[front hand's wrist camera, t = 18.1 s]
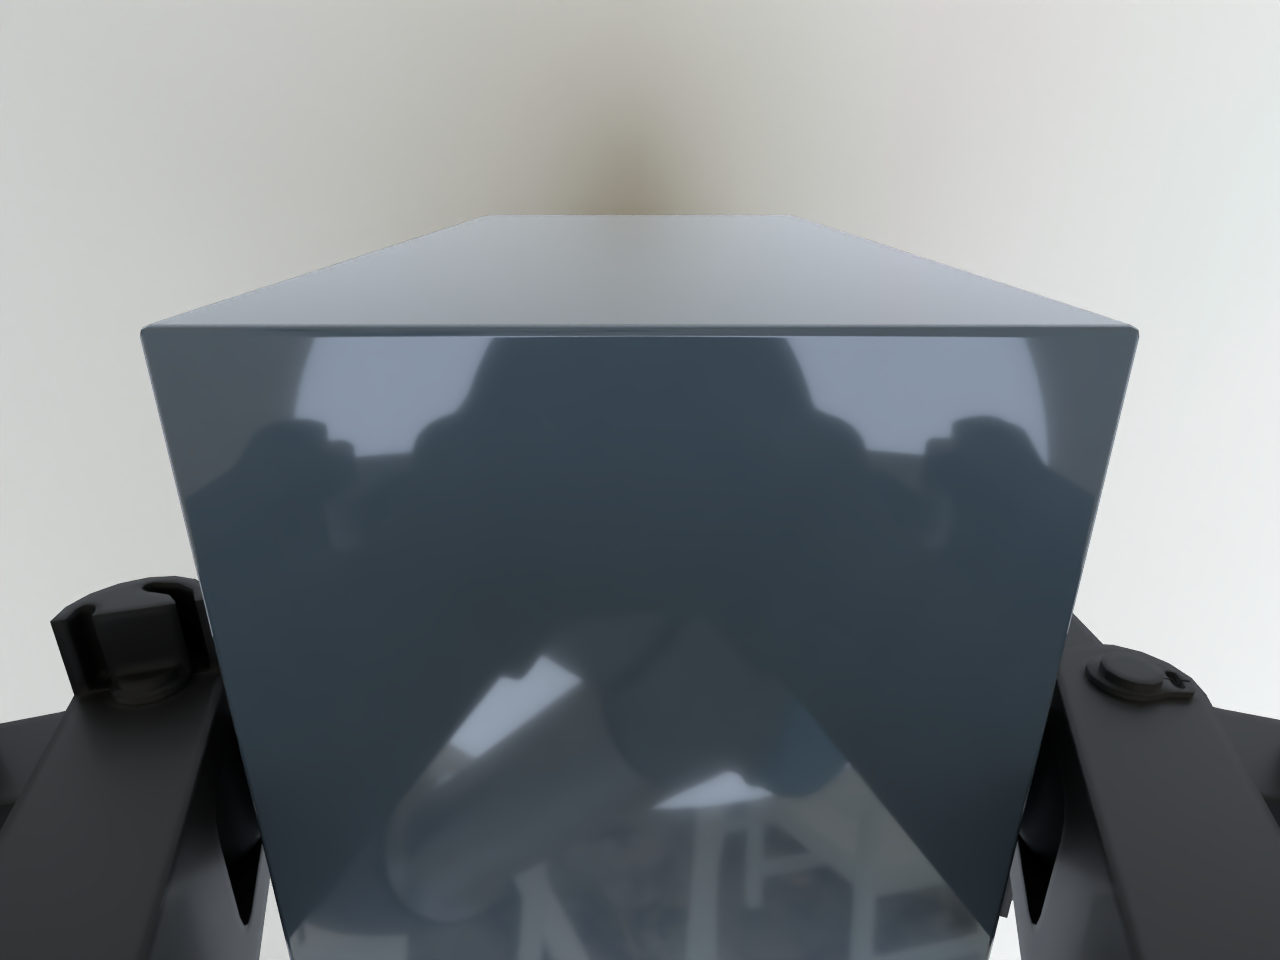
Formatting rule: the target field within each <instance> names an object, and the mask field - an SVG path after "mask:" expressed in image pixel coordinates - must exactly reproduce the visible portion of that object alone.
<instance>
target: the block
mask: <svg viewBox="0 0 1280 960" xmlns="http://www.w3.org/2000/svg"><path fill="white" fill-rule="evenodd" d="M140 338H141V342H142V346H143V350H144V355H145V359H146V363H147V367H148V371H149V375H150V379H151V384H152V388H153V392H154V396H155V400H156V404H157V409H158V413H159V417H160V421H161V425H162V429H163V433H164V438H165V442H166V446H167V450H168V454H169V458H170V462H171V467H172V471H173V475H174V479H175V483H176V487H177V492H178V496H179V500H180V504H181V508H182V512H183V516H184V521H185V525H186V529H187V533H188V537H189V541H190V545H191V550H192V554H193V558H194V562H195V566H196V570H197V575H198V579H199V583H200V587H201V591H202V595H203V599H204V604H205V608H206V612H207V616H208V620H209V624H210V628H211V633H212V637H213V641H214V645H215V649H216V653H217V658H218V662H219V666H220V670H221V674H222V678H223V682H224V687H225V691H226V695H227V699H228V703H229V707H230V711H231V716H232V720H233V724H234V728H235V732H236V736H237V741H238V745H239V749H240V753H241V757H242V761H243V765H244V770H245V774H246V778H247V782H248V786H249V790H250V794H251V799H252V803H253V807H254V811H255V815H256V819H257V824H258V828H259V832H260V836H261V840H262V844H263V848H264V853H265V857H266V861H267V865H268V869H269V873H270V877H271V882H272V886H273V890H274V894H275V898H276V902H277V907H278V911H279V915H280V919H281V923H282V927H283V931H284V936H285V940H286V944H287V948H288V952H289V956H290V960H989V957H990V953H991V949H992V945H993V941H994V936H995V932H996V928H997V924H998V920H999V916H1000V912H1001V907H1002V903H1003V899H1004V895H1005V891H1006V887H1007V883H1008V878H1009V874H1010V870H1011V866H1012V862H1013V858H1014V854H1015V849H1016V845H1017V841H1018V837H1019V833H1020V829H1021V824H1022V820H1023V816H1024V812H1025V808H1026V804H1027V800H1028V795H1029V791H1030V787H1031V783H1032V779H1033V775H1034V771H1035V766H1036V762H1037V758H1038V754H1039V750H1040V746H1041V742H1042V737H1043V733H1044V729H1045V725H1046V721H1047V717H1048V713H1049V708H1050V704H1051V700H1052V696H1053V692H1054V688H1055V684H1056V679H1057V675H1058V671H1059V667H1060V663H1061V659H1062V655H1063V650H1064V646H1065V642H1066V638H1067V634H1068V630H1069V626H1070V621H1071V617H1072V613H1073V609H1074V605H1075V601H1076V597H1077V592H1078V588H1079V584H1080V580H1081V576H1082V572H1083V568H1084V563H1085V559H1086V555H1087V551H1088V547H1089V543H1090V539H1091V534H1092V530H1093V526H1094V522H1095V518H1096V514H1097V510H1098V505H1099V501H1100V497H1101V493H1102V489H1103V485H1104V480H1105V476H1106V472H1107V468H1108V464H1109V460H1110V456H1111V451H1112V447H1113V443H1114V439H1115V435H1116V431H1117V427H1118V422H1119V418H1120V414H1121V410H1122V406H1123V402H1124V398H1125V393H1126V389H1127V385H1128V381H1129V377H1130V373H1131V369H1132V364H1133V360H1134V356H1135V352H1136V348H1137V344H1138V340H1139V331H1138V329H1137V328H1136V327H1134V326H1132V325H1130V324H1127V323H1124V322H1120V321H1117V320H1114V319H1111V318H1108V317H1105V316H1102V315H1099V314H1096V313H1093V312H1090V311H1086V310H1083V309H1080V308H1077V307H1074V306H1071V305H1068V304H1065V303H1062V302H1059V301H1056V300H1053V299H1049V298H1046V297H1043V296H1040V295H1037V294H1034V293H1031V292H1028V291H1025V290H1022V289H1019V288H1015V287H1012V286H1009V285H1006V284H1003V283H1000V282H997V281H994V280H991V279H988V278H985V277H981V276H978V275H975V274H972V273H969V272H966V271H963V270H960V269H957V268H954V267H951V266H948V265H944V264H941V263H938V262H935V261H932V260H929V259H926V258H923V257H920V256H917V255H914V254H910V253H907V252H904V251H901V250H898V249H895V248H892V247H889V246H886V245H883V244H880V243H876V242H873V241H870V240H867V239H864V238H861V237H858V236H855V235H852V234H849V233H846V232H843V231H839V230H836V229H833V228H830V227H827V226H824V225H821V224H818V223H815V222H812V221H809V220H805V219H802V218H799V217H796V216H793V215H486V216H483V217H480V218H476V219H473V220H470V221H467V222H464V223H461V224H458V225H455V226H452V227H449V228H446V229H443V230H439V231H436V232H433V233H430V234H427V235H424V236H421V237H418V238H415V239H412V240H409V241H405V242H402V243H399V244H396V245H393V246H390V247H387V248H384V249H381V250H378V251H375V252H371V253H368V254H365V255H362V256H359V257H356V258H353V259H350V260H347V261H344V262H341V263H337V264H334V265H331V266H328V267H325V268H322V269H319V270H316V271H313V272H310V273H307V274H304V275H300V276H297V277H294V278H291V279H288V280H285V281H282V282H279V283H276V284H273V285H270V286H266V287H263V288H260V289H257V290H254V291H251V292H248V293H245V294H242V295H239V296H236V297H232V298H229V299H226V300H223V301H220V302H217V303H214V304H211V305H208V306H205V307H202V308H198V309H195V310H192V311H189V312H186V313H183V314H180V315H177V316H174V317H171V318H168V319H165V320H161V321H158V322H155V323H152V324H149V325H147V326H145V327H143V328H142V329H141V334H140Z"/></svg>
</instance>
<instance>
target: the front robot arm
mask: <svg viewBox="0 0 1280 960" xmlns="http://www.w3.org/2000/svg"><path fill="white" fill-rule="evenodd" d="M50 623H51V626H52V629H53V632H54V635H55V638H56V641H57V644H58V647H59V650H60V653H61V656H62V659H63V662H64V665H65V668H66V671H67V674H68V677H69V680H70V683H71V686H72V689H73V692H74V697H73V699H72V701H71V702H70V704H69V706H68V708H67V710H66V711H63V712H59V713H54V714H49V715H43V716H38V717H33V718H27V719H22V720H17V721H12V722H6V723H1V724H0V960H259V955H260V948H261V940H262V933H263V926H264V918H265V911H266V903H267V896H268V888H269V881H270V873H269V869H268V865H267V861H266V857H265V853H264V848H263V844H262V840H261V836H260V832H259V828H258V824H257V819H256V815H255V811H254V807H253V803H252V799H251V794H250V790H249V786H248V782H247V778H246V774H245V770H244V765H243V761H242V757H241V753H240V749H239V745H238V741H237V736H236V732H235V728H234V724H233V720H232V716H231V711H230V707H229V703H228V699H227V695H226V691H225V687H224V682H223V678H222V674H221V670H220V666H219V662H218V658H217V653H216V649H215V645H214V641H213V637H212V633H211V628H210V624H209V620H208V616H207V612H206V608H205V604H204V599H203V595H202V591H201V587H200V583H199V581H198V580H196V579H191V578H185V577H178V576H166V577H148V578H144V579H139V580H134V581H129V582H124V583H120V584H116V585H114V586H111V587H108V588H105V589H102V590H100V591H97V592H94V593H91V594H89V595H87V596H85V597H83V598H82V599H80V600H78V601H76V602H74V603H72V604H71V605H69V606H67V607H65V608H64V609H63V610H62V611H61V612H60V613H59V614H58V615H57V616H56V617H55V618H54V619H52V620H51V621H50ZM1012 900H1013V901H1014V909H1015V916H1016V923H1017V931H1018V938H1019V946H1020V953H1021V960H1280V720H1277V719H1272V718H1267V717H1261V716H1256V715H1251V714H1245V713H1240V712H1235V711H1229V710H1224V709H1219V708H1215V707H1213V706H1212V704H1211V703H1210V701H1209V699H1208V697H1207V695H1206V694H1205V693H1204V692H1203V690H1202V689H1201V688H1200V687H1199V686H1198V685H1197V684H1196V682H1195V681H1194V680H1193V679H1192V678H1191V677H1189V676H1188V675H1186V674H1185V673H1183V672H1181V671H1180V670H1178V669H1177V668H1175V667H1174V666H1172V665H1171V664H1169V663H1167V662H1165V661H1162V660H1160V659H1157V658H1155V657H1153V656H1150V655H1148V654H1145V653H1143V652H1140V651H1136V650H1132V649H1128V648H1124V647H1120V646H1115V645H1106V644H1102V643H1101V642H1100V641H1099V640H1098V639H1097V638H1096V637H1095V636H1094V634H1093V633H1092V632H1091V631H1090V630H1089V629H1088V628H1087V627H1086V626H1085V625H1084V624H1083V623H1082V622H1081V621H1080V620H1079V619H1078V618H1077V617H1076V616H1075V615H1074V614H1073V613H1072V617H1071V621H1070V626H1069V630H1068V634H1067V638H1066V642H1065V646H1064V650H1063V655H1062V659H1061V663H1060V667H1059V671H1058V675H1057V679H1056V684H1055V688H1054V692H1053V696H1052V700H1051V704H1050V708H1049V713H1048V717H1047V721H1046V725H1045V729H1044V733H1043V737H1042V742H1041V746H1040V750H1039V754H1038V758H1037V762H1036V766H1035V771H1034V775H1033V779H1032V783H1031V787H1030V791H1029V795H1028V800H1027V804H1026V808H1025V812H1024V816H1023V820H1022V824H1021V829H1020V833H1019V837H1018V841H1017V845H1016V849H1015V854H1014V858H1013V862H1012V866H1011V870H1010V874H1009V878H1008V883H1007V887H1006V891H1005V895H1004V899H1003V903H1002V907H1001V912H1000V916H1002V917H1006V918H1007V916H1008V912H1009V908H1010V904H1011V901H1012Z"/></svg>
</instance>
